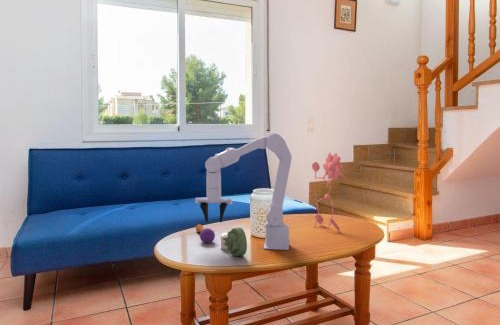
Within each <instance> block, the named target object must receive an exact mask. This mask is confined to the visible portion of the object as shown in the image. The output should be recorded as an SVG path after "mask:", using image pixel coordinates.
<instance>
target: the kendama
mask: <svg viewBox="0 0 500 325" xmlns="http://www.w3.org/2000/svg"><path fill="white" fill-rule="evenodd" d="M195 231H196V232H198V233H200V234H199V238H200V240H201V242H202V243H203V244H210V243H213V241H214V240H215V239H216V233H215V231H214V230H213V229H212V228H207V227H205V228H204V226H203V225H202V224H197V225H196V226H195Z"/></svg>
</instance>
